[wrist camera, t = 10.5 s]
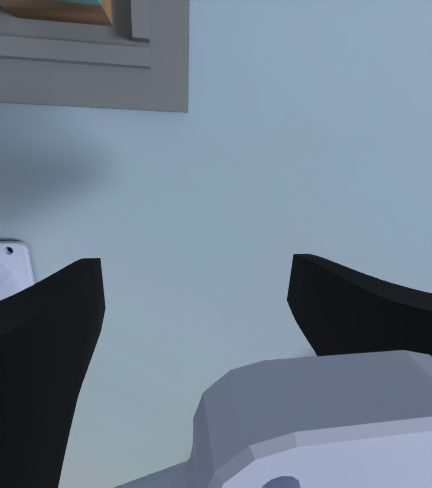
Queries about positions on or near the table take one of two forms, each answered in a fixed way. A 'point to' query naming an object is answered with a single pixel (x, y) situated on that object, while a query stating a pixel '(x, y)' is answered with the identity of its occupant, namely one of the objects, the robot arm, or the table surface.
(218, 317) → the table surface
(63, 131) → the table surface
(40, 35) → the plate
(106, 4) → the block stack
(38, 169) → the table surface
